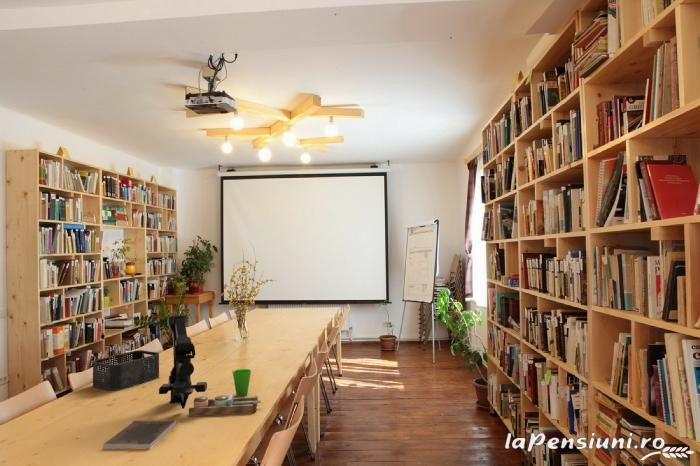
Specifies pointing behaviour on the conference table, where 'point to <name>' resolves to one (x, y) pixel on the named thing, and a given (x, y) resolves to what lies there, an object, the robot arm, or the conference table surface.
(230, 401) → the pusher
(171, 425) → the picture frame
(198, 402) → the jar
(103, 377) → the storage bin
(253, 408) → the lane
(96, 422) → the conference table surface
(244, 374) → the cup
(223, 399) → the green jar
